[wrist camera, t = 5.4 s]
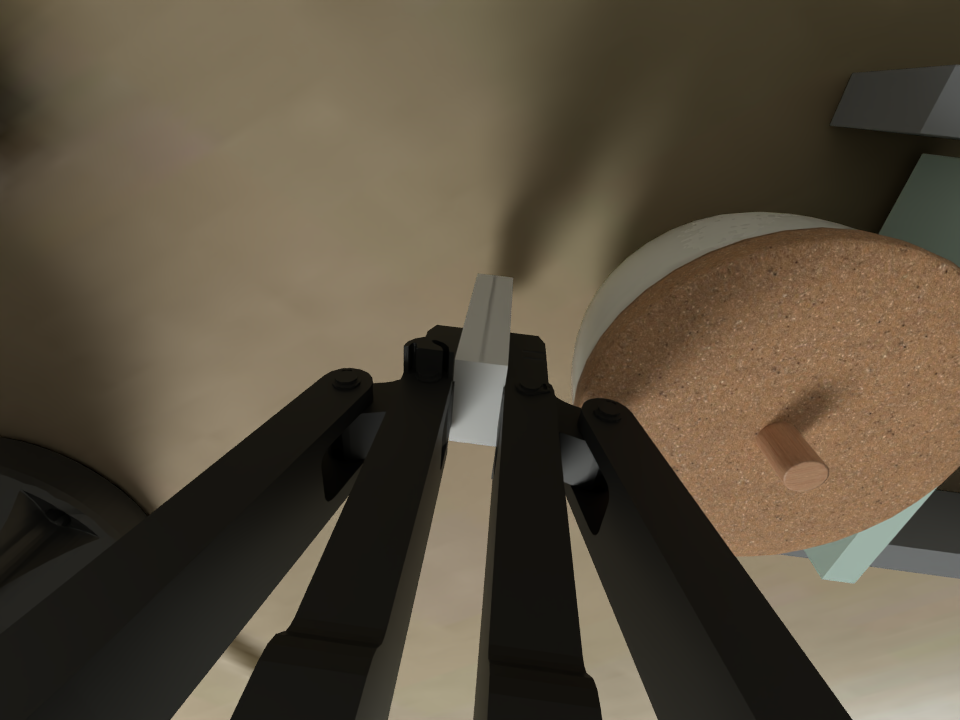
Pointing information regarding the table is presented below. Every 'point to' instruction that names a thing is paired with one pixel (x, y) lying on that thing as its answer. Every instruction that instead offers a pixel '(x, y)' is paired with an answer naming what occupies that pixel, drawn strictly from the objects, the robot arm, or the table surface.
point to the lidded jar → (783, 371)
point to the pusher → (945, 232)
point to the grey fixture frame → (934, 113)
